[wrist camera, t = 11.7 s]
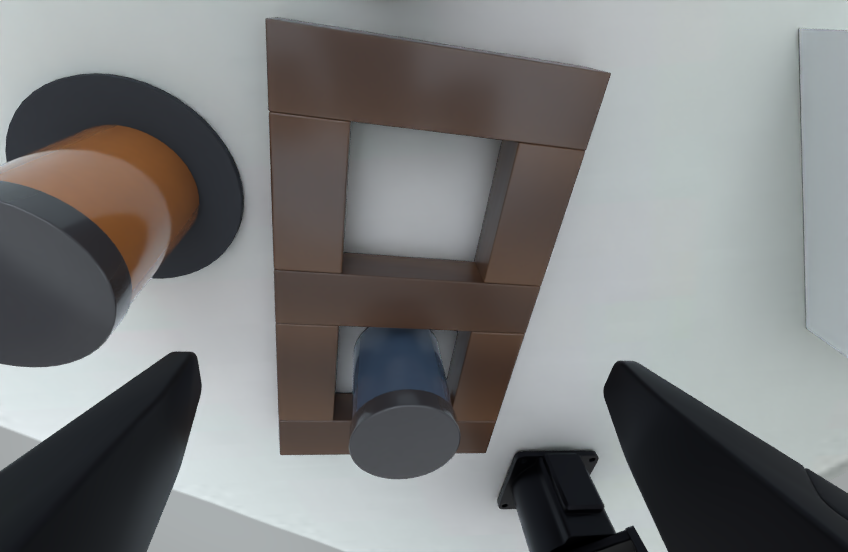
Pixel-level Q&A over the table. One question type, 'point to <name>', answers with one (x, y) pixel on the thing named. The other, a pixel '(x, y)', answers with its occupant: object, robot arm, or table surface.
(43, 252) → the amber jar
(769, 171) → the table surface
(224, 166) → the coaster
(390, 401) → the spice jar
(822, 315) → the block
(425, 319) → the jar stand
